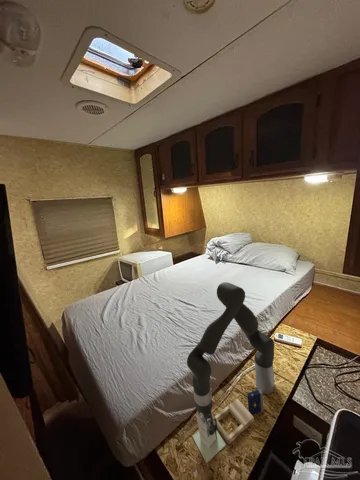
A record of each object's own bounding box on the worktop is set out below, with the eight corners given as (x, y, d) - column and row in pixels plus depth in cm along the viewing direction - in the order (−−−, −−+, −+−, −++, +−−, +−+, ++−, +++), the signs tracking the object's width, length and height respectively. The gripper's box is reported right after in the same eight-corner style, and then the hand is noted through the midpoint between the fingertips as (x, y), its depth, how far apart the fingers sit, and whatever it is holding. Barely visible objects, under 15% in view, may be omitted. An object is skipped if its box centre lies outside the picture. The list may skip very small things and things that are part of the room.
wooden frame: (237, 401, 104) (237, 398, 103) (253, 420, 95) (253, 417, 94) (213, 421, 97) (212, 417, 96) (228, 444, 87) (228, 440, 87)
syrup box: (209, 451, 86) (206, 426, 82) (199, 439, 90) (196, 415, 87) (217, 439, 89) (214, 416, 86) (208, 428, 93) (204, 406, 90)
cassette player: (250, 415, 97) (249, 397, 94) (248, 411, 99) (247, 392, 96) (264, 410, 98) (263, 392, 95) (261, 406, 100) (260, 387, 98)
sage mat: (210, 421, 97) (210, 421, 96) (226, 445, 87) (226, 444, 87) (192, 436, 92) (192, 436, 92) (206, 463, 82) (206, 462, 82)
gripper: (220, 405, 79) (223, 435, 83) (200, 378, 91) (204, 405, 95) (205, 417, 75) (209, 447, 79) (186, 387, 88) (191, 415, 92)
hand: (206, 424), depth 87 cm, fingers open, 7 cm apart
